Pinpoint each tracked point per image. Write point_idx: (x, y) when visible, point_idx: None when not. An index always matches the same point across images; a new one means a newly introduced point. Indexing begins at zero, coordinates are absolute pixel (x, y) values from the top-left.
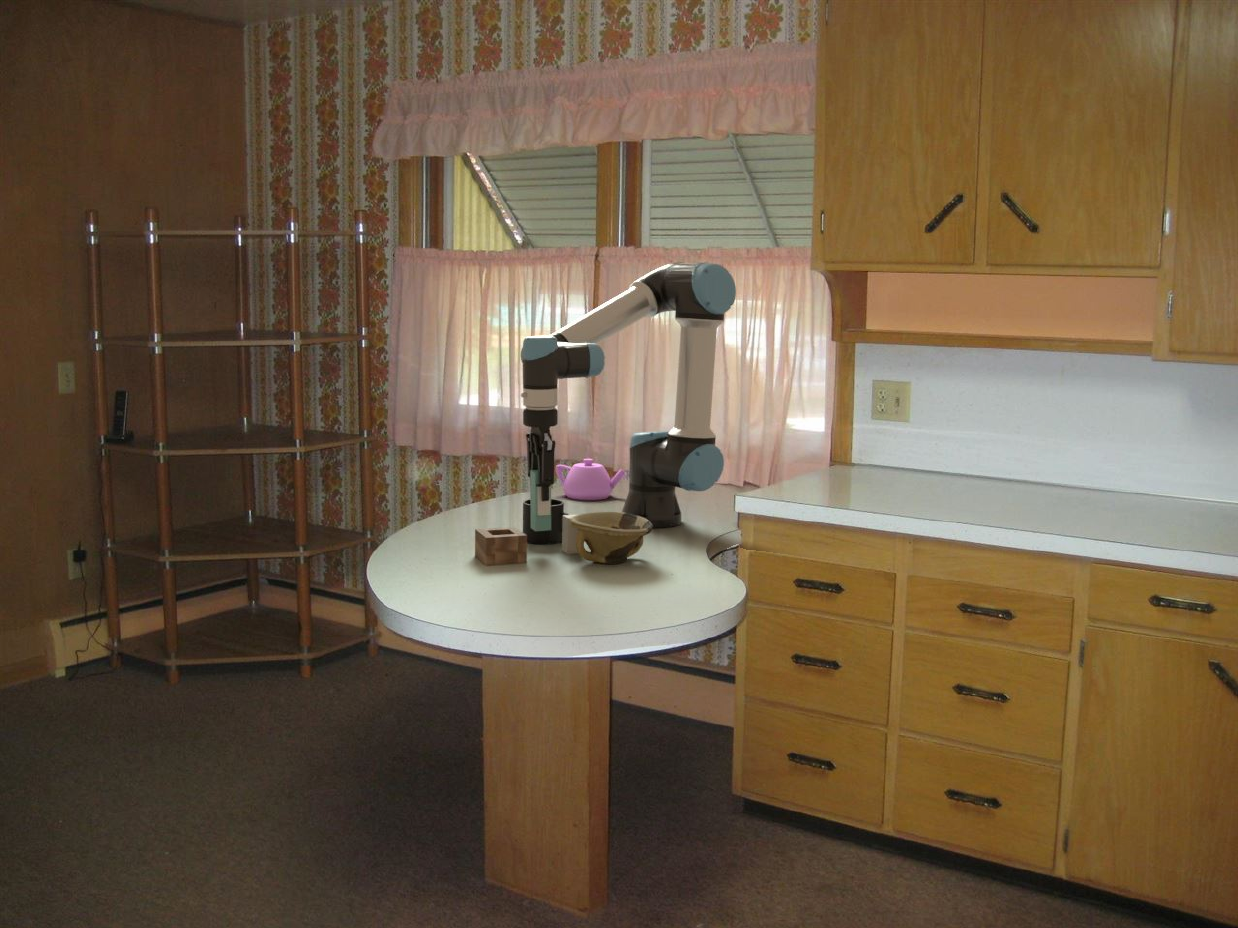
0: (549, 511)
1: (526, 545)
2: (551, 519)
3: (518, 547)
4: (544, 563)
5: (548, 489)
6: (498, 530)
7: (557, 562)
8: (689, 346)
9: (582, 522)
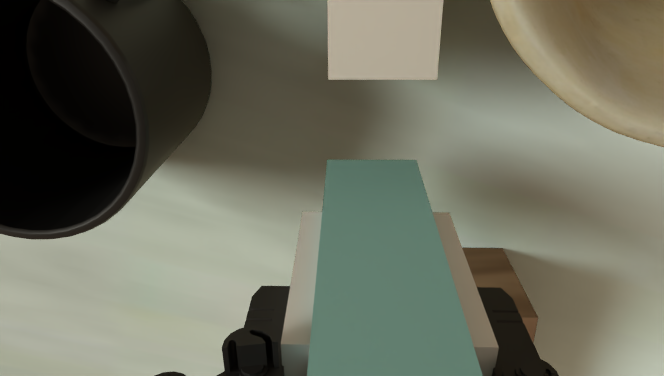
0: (453, 228)
1: (522, 290)
2: (173, 82)
3: None
4: (540, 191)
5: (534, 354)
6: None
7: (547, 137)
8: None
9: (574, 18)
